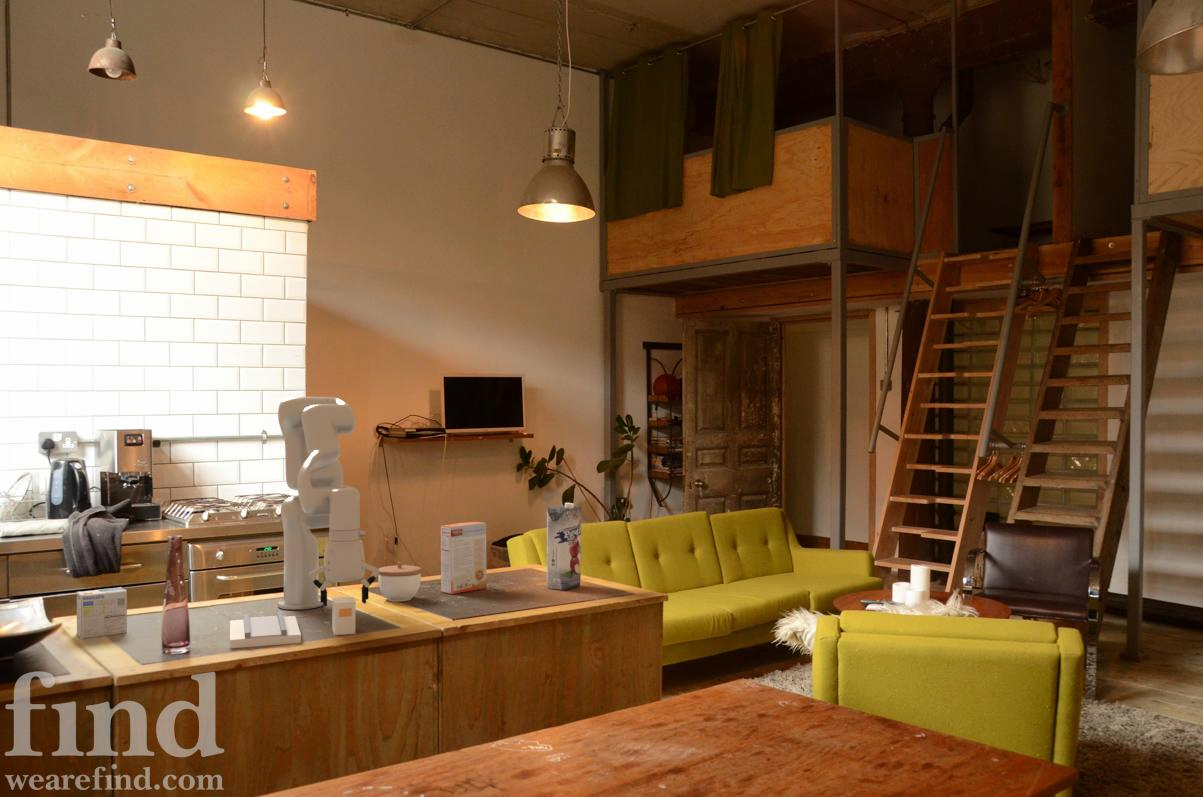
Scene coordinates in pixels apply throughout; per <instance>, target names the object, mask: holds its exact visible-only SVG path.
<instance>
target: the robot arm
mask: <svg viewBox="0 0 1203 797" xmlns="http://www.w3.org/2000/svg"><path fill="white" fill-rule="evenodd" d="M277 410H278V411H277V415H278V416H277V418H278V424H279V428H280V430H281V434H282V437H283V440H284V447H285V448H284V449H285V450H284V452H285V453H284V454H285V456H284V457H285V459H284V460H285V479H286V480H285V481H286V484H287V487H288V488H289V489H290V490H294V491H297V494H298V495H293V496H289V497H287V498H286V499H284V500H283V502H282V503H281V506H280V516H281V522H282V530H283V599H282V600H280V601H278V602H277V607H278V608H279V609H282V610H295V611H296V610H308V609H309V610H310V609H316V608H319V607H322V606H323V607H327V606H328V590H327V587H328V586H329V584H330V583H345V582H346V583H347V582H358V581H360V582H361V583H362V587H361V602H362V603H363V604H367V600H369V588H370V587H371V585H372V584H373V583H374V582H375V581H376V578H378V573H379V568H378V567H376V566H374V565H371V564H369V563H367V562H366V559H365V557H366V556H365V550H364V548H365V547H364V544H363V543H364V542H363V540H361V538H362V537H366V536H367V535H366V531H365V530H361V529H360V526H361V525H360V523H361V522H360V521H361V520H360V507H361V505H360V503H361V502H360V500H361V497H360V491H359V489H357V488H356V487H352V486H349V485H344V471H343V470H344V469H343V466H342V464H341V462H340V460H339V458H340V457H341V454H342V449H341V445H340V441H339V436H338V435H350V434H352V433H353V432H354V430H355V429H356V424H357V423H356V422H357V420H356V414H355V412H354V410H353V408H352V407H351V405H350V404H349V403H348V402H345V401H344V400H343V399H341V398H338V397H336V396H335V397H334V396H292V397H287V398H285V399H282V400H281V401H280V403H279V405H278V409H277ZM317 528H319V529H320V528H329V530H328V532H329V533H328V535H329V536H328V538H329V541H327V542H325V547H324V554H323V565H321V566H320V565H319V564H320V563H319V562H320V561H319V560H320V559H319V556H320V555H319V553H320V552H319V549H320V548H319V547H320V546H319V541H318V539H317V537H315V535H314V534H313V533H312V531H311V530H310V529H317ZM366 570H368V571H370V572H371V575H370V576H369V577H368V578H367V579H366V578H365V577H366ZM321 573H322V574H323V578H324V579H323V580H322V582H321V581H320V580H319V575H320V574H321ZM319 591H320V593H319ZM319 594H320V597H319Z"/></svg>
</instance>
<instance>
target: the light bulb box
mask: <svg viewBox="0 0 1203 797" xmlns="http://www.w3.org/2000/svg"><path fill="white" fill-rule="evenodd" d="M126 633H128V590H127V589H125V588H124V587H122V586H120V587H113V588H111V587H110V588H103V589H94V590H84V591H76V635H77V637H79V639H81V638H82V639H89V638H95V637H96V638H98V637H103V636H104V637H105V636H112V635H118V634H119V635H120V634H126Z"/></svg>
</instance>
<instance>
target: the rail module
mask: <svg viewBox="0 0 1203 797" xmlns="http://www.w3.org/2000/svg"><path fill="white" fill-rule="evenodd" d="M331 600H332V601H331V602H332V604H331V608H332V609H331V619H332V620H331V630H332V632H333V635H334V636H340V635H342V636H343V635H351V634H352V635H353V634H355V635H356V608H357V607H356V606H357V603H356V600H355V599H354V597H353V596H345V597H343V596H341V597H332V599H331Z"/></svg>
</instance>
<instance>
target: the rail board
mask: <svg viewBox="0 0 1203 797" xmlns="http://www.w3.org/2000/svg"><path fill="white" fill-rule="evenodd" d="M301 643H302V634H301V631H300V627H299V624H298V620H297V618H296V616H295V615H292V616H291V615H289V616H284V614H283V611H277V613H276V615H269V616H256V617H254V616H253V617H250V615H249V613H244V614H243V619H234V620H233V619H232V620H230V621H229V649H239V648H242V649H243V648H252V647H253V648H255V647H266V646H278V645H288V644H290V645H291V644H301Z"/></svg>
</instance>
